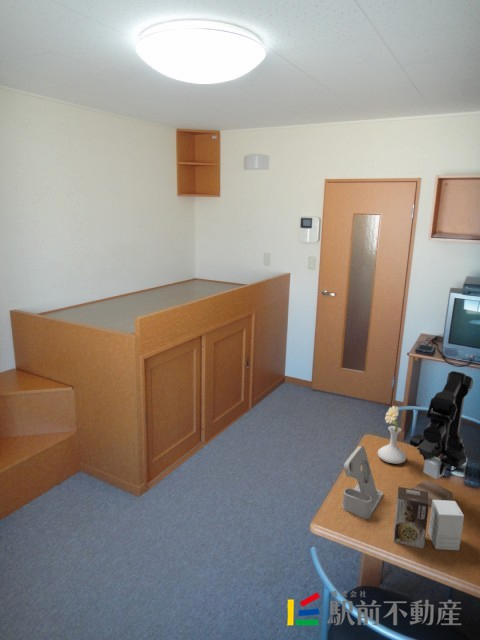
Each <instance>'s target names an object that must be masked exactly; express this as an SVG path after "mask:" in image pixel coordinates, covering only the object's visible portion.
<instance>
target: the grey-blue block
mask: <svg viewBox="0 0 480 640" xmlns="http://www.w3.org/2000/svg"><path fill="white" fill-rule="evenodd" d="M440 460H442V458H441V459H440V458H439V457H438V458H437V457H433V458H432V459H426V460H425V461H424V464H423V465H424V466H423V471H422V472H423V473H424V474H426V475H427V476H429V477H430V478H432V479H435V480H438V479H439V478H441V477H443V476H444V475H445V471H446V470H445V471H444V473H443V474H442V475H440V468H441V461H440Z"/></svg>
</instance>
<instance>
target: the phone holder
mask: <svg viewBox="0 0 480 640" xmlns="http://www.w3.org/2000/svg"><path fill="white" fill-rule="evenodd" d="M343 464H344V465H343V470H344V473H345V476H346V477H348V478H350V479H351V478H352V479H355V480H356V481H357V484H356V485H355V486H354V488H352V487H351V488H345V489H343V497H342V498H343V499H342V504H341V509H342V510H343V509H344V510H343V511H345V510H346V512H348V513H350V512H351V513H350V514H353V515H356V516H359V517H360V518H363V519H368V520H369V519H370V518H371V517H372V515H373V514H374V511H375V510H376V508H377V507H378V505H379V503H380V501H381V499H382V498H383V497H384V492H383V491H381V490H379V489H377V487H376V484H375V480H374V476H373V473H372V469H371V466H370V462H369V458H368V454H367V452H366V448H365V447H364V446H363V445H362V446H361V445H360V446H357V447H356V448H355V450H354V451H353V452H352V453H351V454H350V456H349V457H348V458H347V459H346V461H344V463H343Z"/></svg>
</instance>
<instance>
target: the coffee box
mask: <svg viewBox="0 0 480 640" xmlns="http://www.w3.org/2000/svg"><path fill="white" fill-rule="evenodd" d="M396 497H397V498H396V507H395V514H394V515H395V516H394V518H395V519H394V525H393V526H394V527H393V543H398V544H400V545H401V544H403V545H407V546H411V547H415V548H419V549H425V542H426V534H427V526H428V517H429V516H428V515H429V510H430V509H429V508H430V506H429V497H428V492H425V491H419V490H414V489H412V488H407V487H401V486H398V488H397V495H396Z"/></svg>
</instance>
